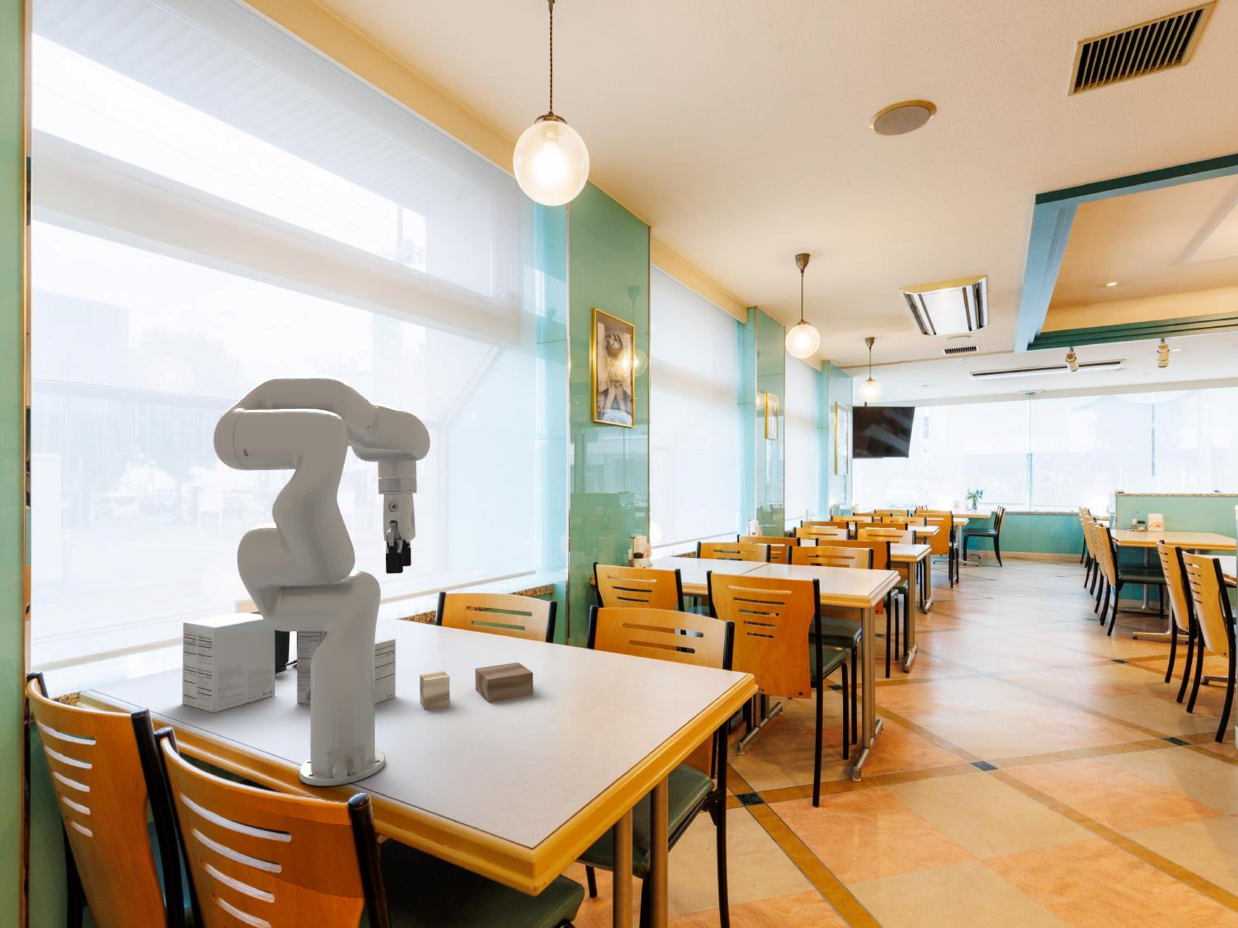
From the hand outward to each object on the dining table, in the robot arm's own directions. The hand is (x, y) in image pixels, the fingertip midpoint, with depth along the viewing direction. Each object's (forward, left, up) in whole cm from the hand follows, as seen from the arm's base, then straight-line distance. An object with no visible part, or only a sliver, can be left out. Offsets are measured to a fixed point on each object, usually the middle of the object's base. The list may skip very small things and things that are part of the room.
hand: (399, 569), depth 133 cm
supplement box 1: (+28, +31, -29) cm, 50 cm away
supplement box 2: (+11, +4, -29) cm, 31 cm away
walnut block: (0, -22, -29) cm, 36 cm away
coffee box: (+18, +13, -29) cm, 36 cm away
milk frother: (+51, +20, -29) cm, 62 cm away
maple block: (0, -7, -29) cm, 29 cm away
